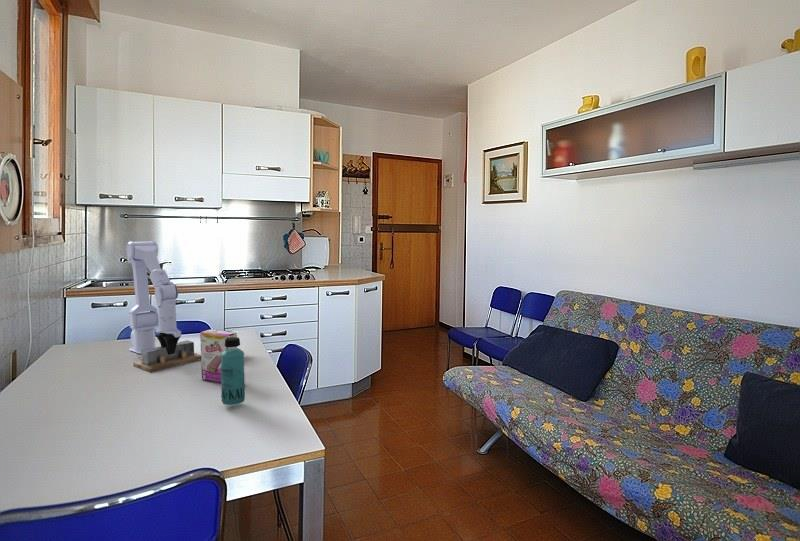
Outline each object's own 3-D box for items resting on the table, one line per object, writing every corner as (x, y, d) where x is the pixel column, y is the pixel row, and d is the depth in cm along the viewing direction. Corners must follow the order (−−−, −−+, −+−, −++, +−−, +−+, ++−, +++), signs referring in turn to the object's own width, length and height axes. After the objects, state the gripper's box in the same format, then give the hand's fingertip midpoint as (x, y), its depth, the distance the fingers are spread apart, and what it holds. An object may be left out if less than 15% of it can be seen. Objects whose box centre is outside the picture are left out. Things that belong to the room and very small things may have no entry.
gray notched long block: (147, 365, 164) (147, 352, 164) (141, 363, 167) (141, 350, 166) (194, 354, 178) (193, 342, 178) (187, 352, 181) (187, 340, 180)
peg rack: (133, 365, 168) (132, 355, 168) (186, 353, 184) (185, 344, 184) (149, 372, 161) (149, 362, 161) (203, 358, 177) (202, 349, 177)
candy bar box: (200, 380, 154) (199, 332, 152) (211, 376, 158) (210, 328, 157) (228, 385, 150) (227, 335, 148) (238, 380, 155) (237, 331, 153)
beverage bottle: (225, 401, 136) (223, 335, 134) (248, 401, 137) (246, 335, 135) (218, 410, 130) (216, 341, 128) (242, 410, 130) (241, 340, 128)
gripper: (146, 316, 172) (148, 352, 173) (166, 321, 163) (168, 359, 165) (165, 313, 177) (166, 347, 179) (186, 318, 169) (187, 354, 171)
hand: (168, 353), depth 172 cm, fingers closed on gray notched long block, 3 cm apart
